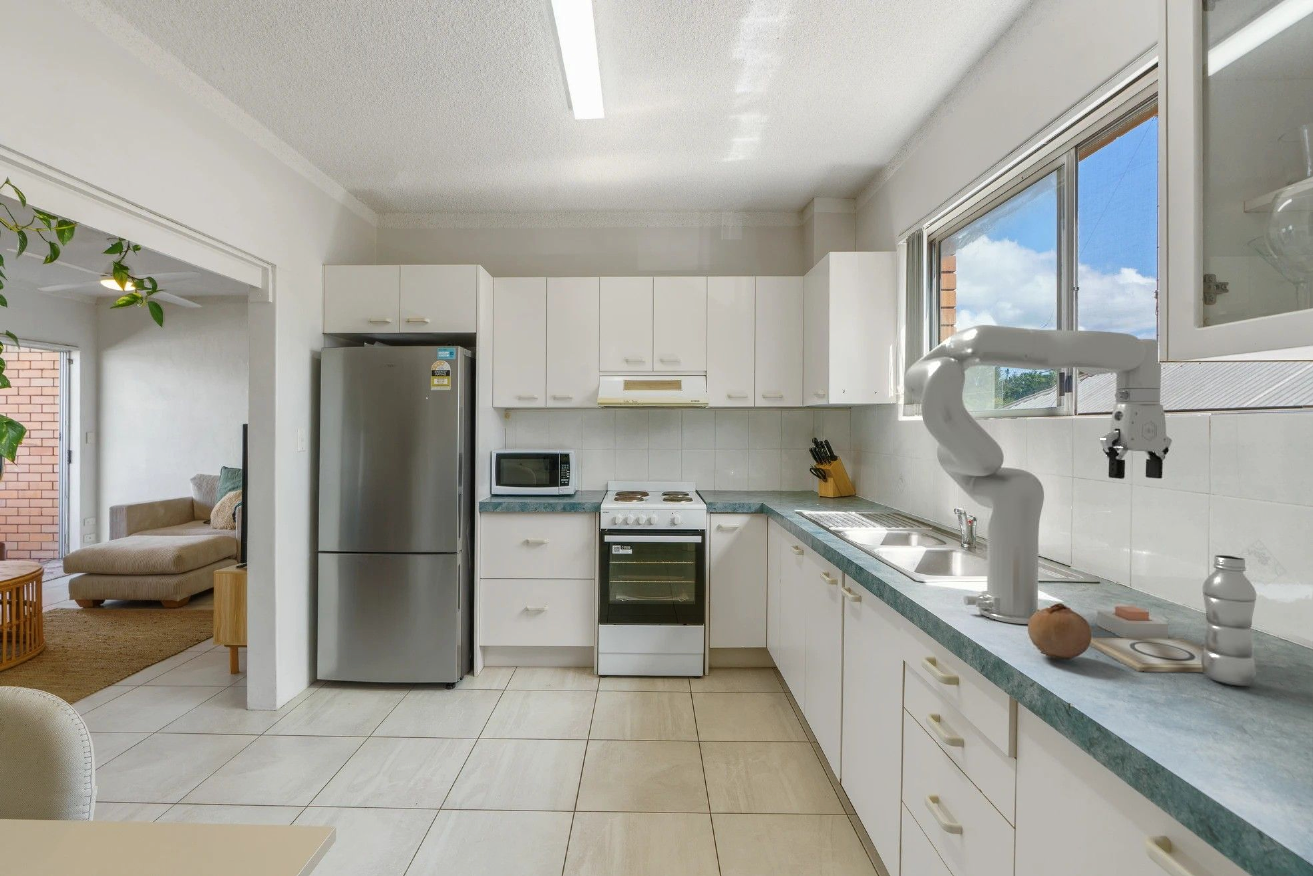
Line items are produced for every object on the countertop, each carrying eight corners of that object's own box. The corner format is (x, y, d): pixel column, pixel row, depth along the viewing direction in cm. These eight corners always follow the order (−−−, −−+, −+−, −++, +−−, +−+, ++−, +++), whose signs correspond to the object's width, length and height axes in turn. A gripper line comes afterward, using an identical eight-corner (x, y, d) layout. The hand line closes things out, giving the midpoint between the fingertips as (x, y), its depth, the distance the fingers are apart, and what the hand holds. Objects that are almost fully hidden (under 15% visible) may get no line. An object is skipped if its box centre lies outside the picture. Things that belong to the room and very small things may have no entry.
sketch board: (1138, 671, 104) (1138, 665, 104) (1083, 642, 118) (1084, 636, 118) (1250, 672, 103) (1250, 666, 103) (1182, 643, 117) (1182, 637, 117)
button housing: (1125, 638, 120) (1125, 623, 120) (1097, 625, 128) (1097, 610, 128) (1168, 639, 119) (1168, 623, 119) (1137, 625, 127) (1137, 611, 127)
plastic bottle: (1215, 688, 97) (1217, 560, 97) (1192, 671, 104) (1193, 552, 103) (1266, 693, 96) (1268, 563, 95) (1239, 676, 102) (1241, 554, 102)
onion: (1069, 674, 103) (1070, 613, 103) (1015, 655, 112) (1016, 599, 111) (1103, 664, 107) (1104, 606, 107) (1049, 646, 116) (1049, 593, 115)
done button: (1128, 626, 122) (1128, 611, 122) (1115, 620, 125) (1115, 606, 125) (1148, 626, 122) (1148, 612, 122) (1134, 620, 125) (1134, 606, 125)
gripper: (1120, 396, 128) (1118, 479, 128) (1188, 398, 131) (1185, 479, 132) (1088, 397, 135) (1086, 476, 136) (1153, 399, 139) (1150, 476, 139)
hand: (1135, 478), depth 134 cm, fingers open, 9 cm apart
